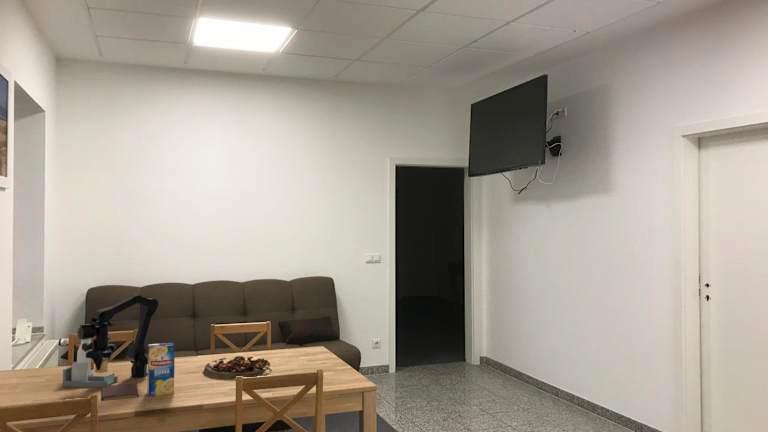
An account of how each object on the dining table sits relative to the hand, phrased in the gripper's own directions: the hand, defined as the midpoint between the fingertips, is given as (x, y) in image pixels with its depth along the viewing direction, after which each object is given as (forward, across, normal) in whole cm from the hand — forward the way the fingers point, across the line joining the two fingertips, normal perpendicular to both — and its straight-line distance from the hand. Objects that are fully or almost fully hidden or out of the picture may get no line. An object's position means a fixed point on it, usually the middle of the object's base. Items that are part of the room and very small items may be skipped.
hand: (101, 368), depth 286 cm
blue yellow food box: (+8, +13, +34) cm, 38 cm away
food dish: (+8, -29, +58) cm, 65 cm away
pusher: (+7, 0, +4) cm, 8 cm away
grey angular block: (+8, 0, -11) cm, 13 cm away
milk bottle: (+8, -16, -17) cm, 24 cm away
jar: (+1, 0, 0) cm, 1 cm away
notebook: (+8, +13, +15) cm, 22 cm away
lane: (+7, 0, -5) cm, 9 cm away
